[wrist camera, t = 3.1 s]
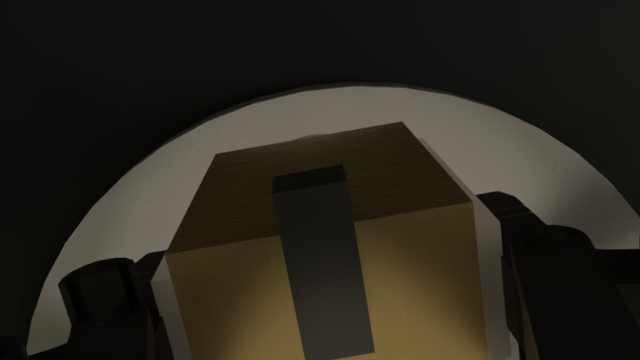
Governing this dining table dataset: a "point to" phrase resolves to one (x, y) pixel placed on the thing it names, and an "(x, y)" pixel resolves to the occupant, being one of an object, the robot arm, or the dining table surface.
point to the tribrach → (326, 118)
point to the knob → (330, 254)
